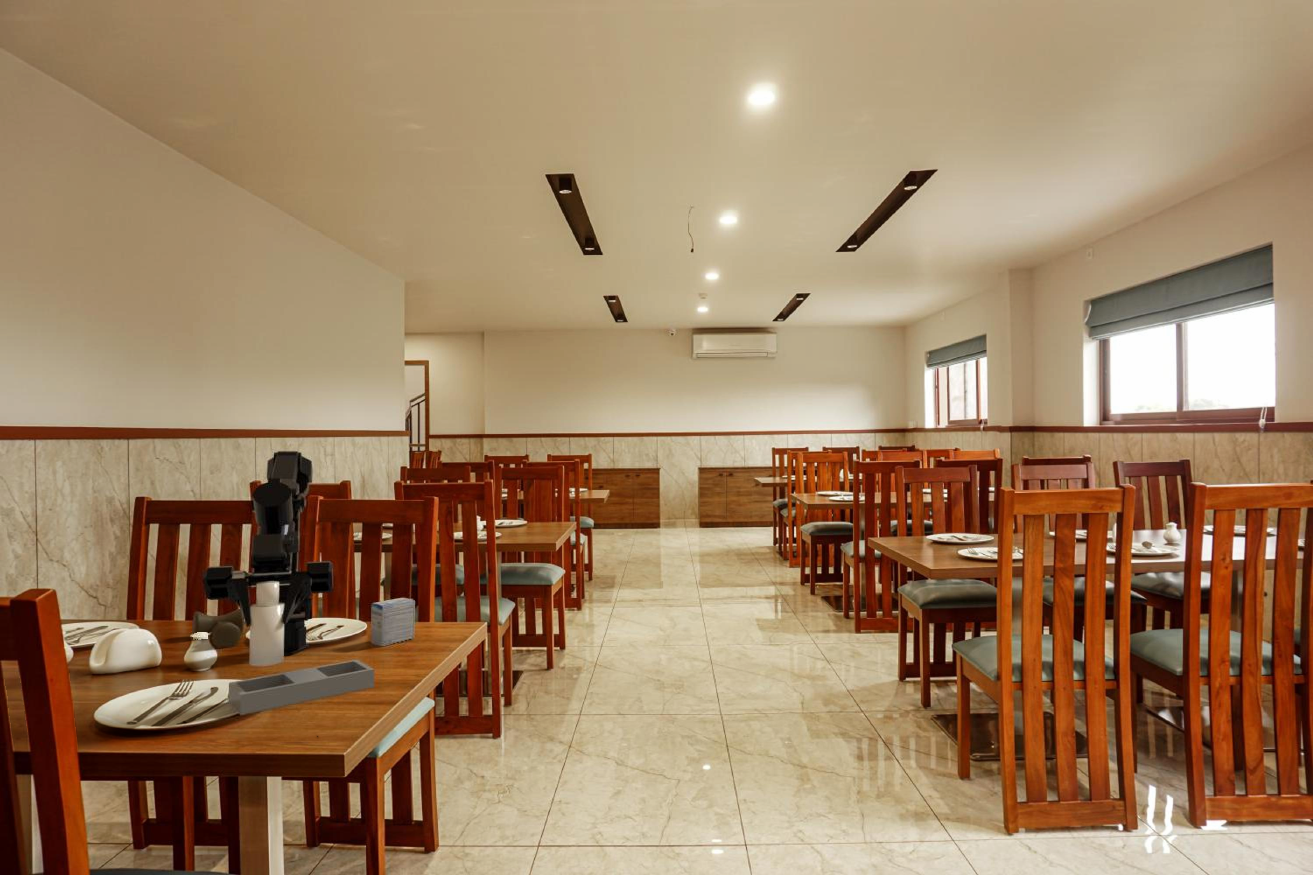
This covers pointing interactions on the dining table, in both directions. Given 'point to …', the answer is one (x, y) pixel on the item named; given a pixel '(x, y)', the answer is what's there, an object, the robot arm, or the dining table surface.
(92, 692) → the dining table surface
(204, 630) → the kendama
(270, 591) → the white stepped cylinder
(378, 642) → the medicine box
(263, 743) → the dining table surface
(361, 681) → the caddy
